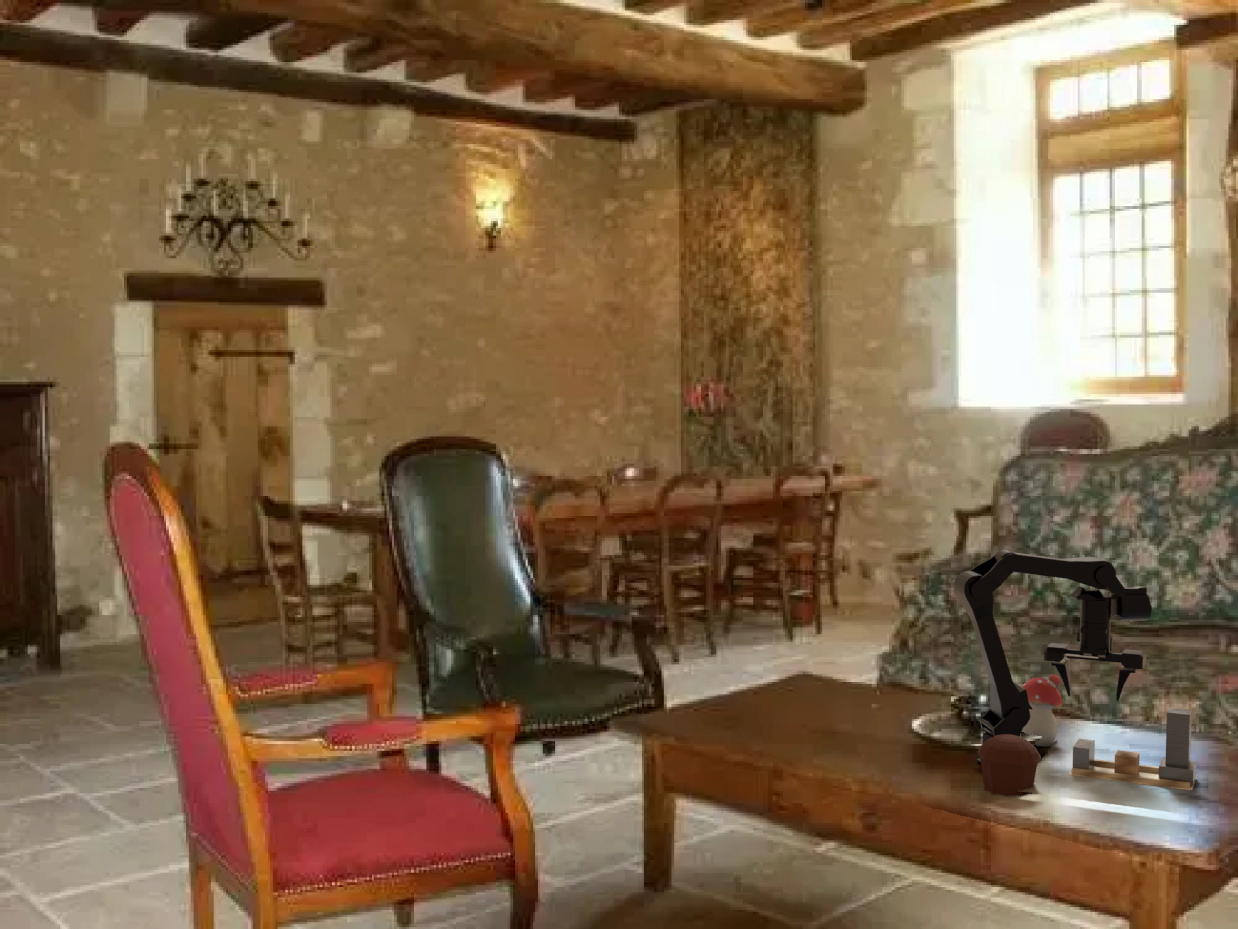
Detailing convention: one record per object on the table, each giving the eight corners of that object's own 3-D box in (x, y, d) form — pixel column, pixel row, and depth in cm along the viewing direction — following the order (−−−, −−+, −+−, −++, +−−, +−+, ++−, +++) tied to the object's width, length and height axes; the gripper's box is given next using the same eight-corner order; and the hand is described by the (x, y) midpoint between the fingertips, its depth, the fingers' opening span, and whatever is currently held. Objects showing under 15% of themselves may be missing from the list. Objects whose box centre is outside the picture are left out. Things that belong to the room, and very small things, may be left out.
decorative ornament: (1066, 746, 293) (1068, 675, 292) (1046, 750, 289) (1047, 679, 288) (1031, 736, 300) (1032, 667, 299) (1010, 740, 297) (1012, 671, 296)
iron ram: (1158, 781, 262) (1160, 713, 261) (1162, 772, 268) (1164, 705, 267) (1192, 786, 259) (1195, 717, 259) (1196, 777, 265) (1198, 709, 264)
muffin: (1053, 792, 261) (1054, 739, 260) (1014, 802, 254) (1015, 748, 254) (1002, 777, 270) (1003, 726, 270) (963, 786, 264) (964, 734, 263)
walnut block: (1114, 775, 267) (1114, 755, 267) (1117, 770, 270) (1117, 750, 270) (1136, 778, 265) (1136, 757, 265) (1139, 773, 269) (1139, 752, 268)
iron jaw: (1072, 772, 269) (1072, 747, 269) (1078, 763, 275) (1078, 738, 275) (1088, 774, 268) (1089, 749, 267) (1094, 765, 274) (1094, 740, 274)
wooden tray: (1068, 780, 268) (1068, 769, 268) (1076, 767, 277) (1077, 756, 277) (1191, 796, 258) (1192, 784, 258) (1196, 782, 267) (1196, 771, 267)
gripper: (1150, 618, 281) (1148, 695, 282) (1054, 611, 290) (1052, 685, 291) (1143, 627, 271) (1141, 707, 272) (1044, 619, 280) (1042, 696, 281)
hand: (1093, 698), depth 279 cm, fingers open, 9 cm apart
